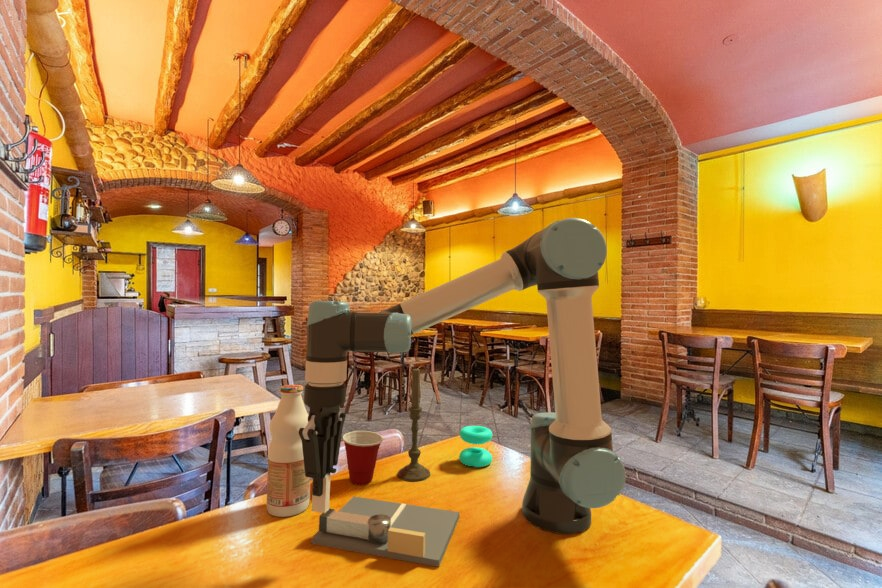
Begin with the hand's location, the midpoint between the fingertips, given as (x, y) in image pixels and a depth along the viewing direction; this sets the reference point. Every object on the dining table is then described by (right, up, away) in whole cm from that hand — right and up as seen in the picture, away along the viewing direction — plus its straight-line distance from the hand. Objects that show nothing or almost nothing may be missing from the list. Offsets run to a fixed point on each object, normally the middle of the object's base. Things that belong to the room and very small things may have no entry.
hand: (320, 510), depth 76 cm
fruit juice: (-13, -10, +19) cm, 25 cm away
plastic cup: (+1, -10, +34) cm, 35 cm away
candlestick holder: (+15, -11, +38) cm, 42 cm away
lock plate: (+12, -10, +10) cm, 18 cm away
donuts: (+33, -11, +48) cm, 59 cm away
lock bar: (+5, -8, +6) cm, 11 cm away
